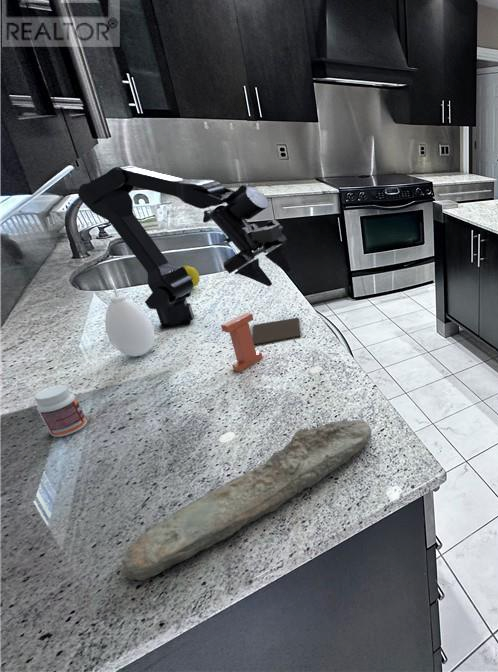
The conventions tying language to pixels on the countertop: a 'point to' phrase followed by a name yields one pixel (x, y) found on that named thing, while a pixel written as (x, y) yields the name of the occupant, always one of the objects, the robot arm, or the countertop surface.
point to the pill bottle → (60, 411)
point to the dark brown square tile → (276, 331)
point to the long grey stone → (245, 497)
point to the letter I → (242, 341)
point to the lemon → (193, 275)
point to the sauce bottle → (128, 326)
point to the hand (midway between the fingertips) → (280, 278)
